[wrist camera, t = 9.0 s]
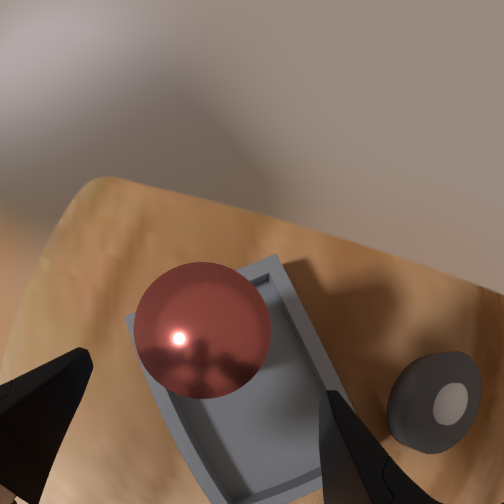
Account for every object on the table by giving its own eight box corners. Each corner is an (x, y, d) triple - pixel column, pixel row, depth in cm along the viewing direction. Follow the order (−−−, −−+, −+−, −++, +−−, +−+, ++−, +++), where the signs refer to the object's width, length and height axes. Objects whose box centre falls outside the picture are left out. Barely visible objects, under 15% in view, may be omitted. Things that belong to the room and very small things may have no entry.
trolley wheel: (468, 407, 15) (494, 408, 12) (403, 463, 14) (426, 475, 11) (442, 336, 18) (469, 330, 15) (372, 391, 17) (395, 394, 14)
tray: (362, 448, 15) (376, 457, 13) (227, 506, 13) (224, 522, 11) (273, 266, 21) (276, 253, 18) (138, 322, 19) (124, 316, 17)
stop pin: (258, 379, 17) (269, 402, 7) (191, 375, 17) (129, 389, 7) (259, 314, 18) (271, 264, 9) (194, 312, 18) (142, 260, 9)
